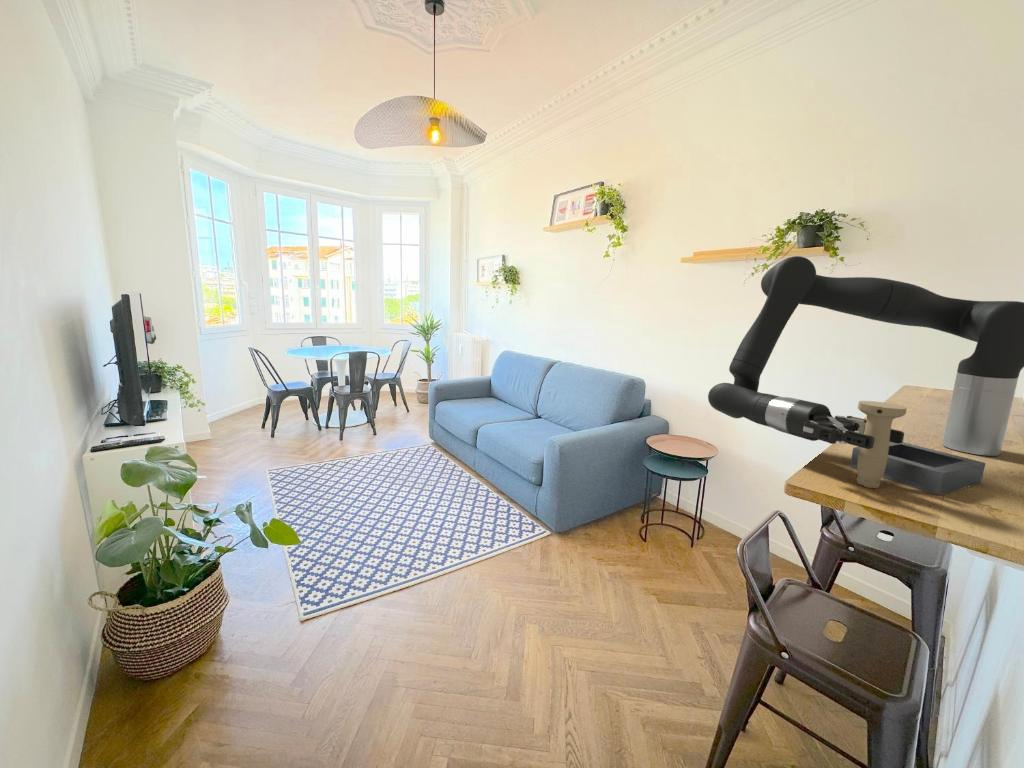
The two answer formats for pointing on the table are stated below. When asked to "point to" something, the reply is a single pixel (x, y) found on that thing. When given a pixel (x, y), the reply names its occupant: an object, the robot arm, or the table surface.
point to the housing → (928, 468)
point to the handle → (876, 440)
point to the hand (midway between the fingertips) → (887, 440)
